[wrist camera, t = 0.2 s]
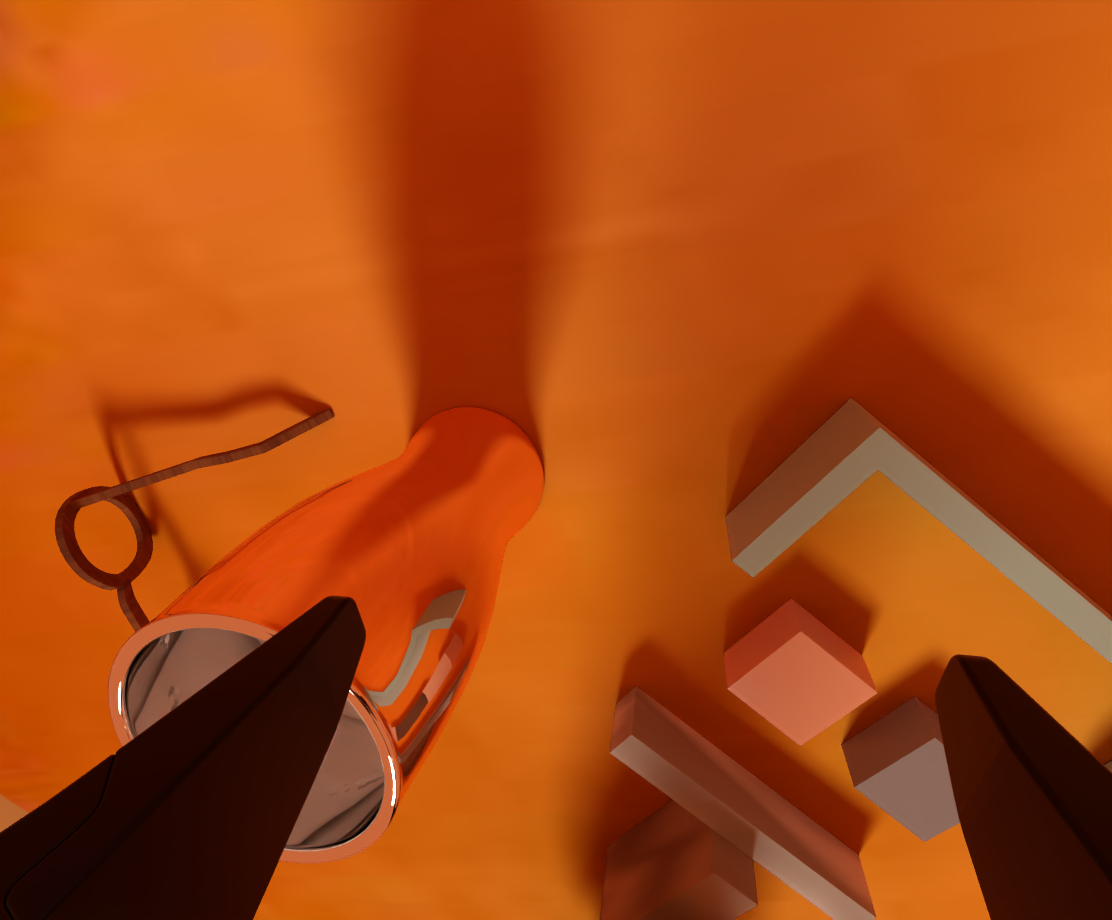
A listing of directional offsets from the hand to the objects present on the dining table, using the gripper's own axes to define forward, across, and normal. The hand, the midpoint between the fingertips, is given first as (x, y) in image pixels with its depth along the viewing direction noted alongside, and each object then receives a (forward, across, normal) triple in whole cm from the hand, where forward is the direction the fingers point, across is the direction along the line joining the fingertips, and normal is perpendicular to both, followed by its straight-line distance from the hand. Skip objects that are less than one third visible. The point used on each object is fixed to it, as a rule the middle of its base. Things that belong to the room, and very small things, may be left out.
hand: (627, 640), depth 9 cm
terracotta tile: (+12, -6, +15) cm, 20 cm away
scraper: (+10, -2, +25) cm, 27 cm away
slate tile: (+11, -12, +19) cm, 25 cm away
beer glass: (+14, +8, +7) cm, 18 cm away
